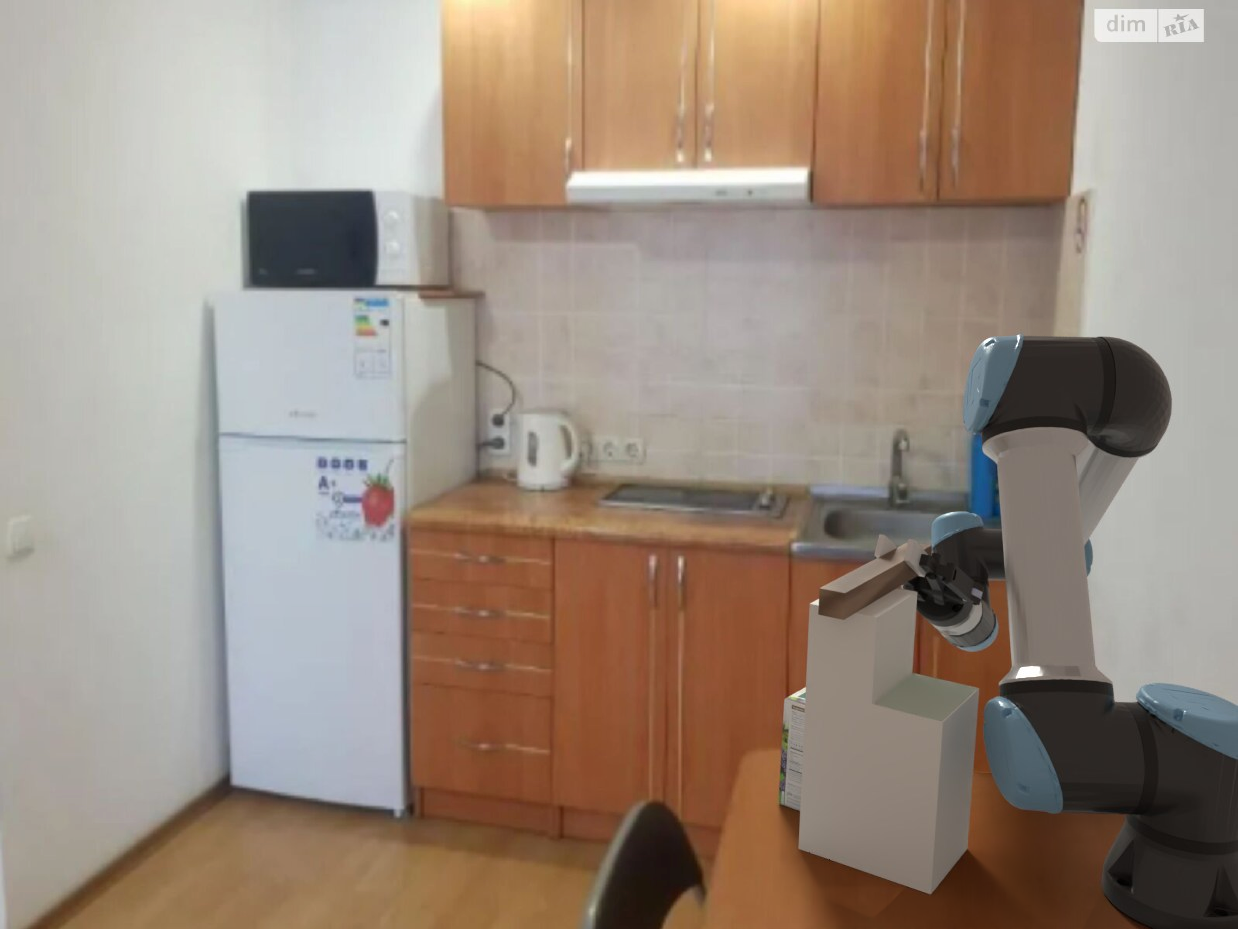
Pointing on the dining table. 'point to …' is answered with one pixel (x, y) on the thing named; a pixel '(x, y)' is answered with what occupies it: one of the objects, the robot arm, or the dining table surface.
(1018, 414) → the robot arm
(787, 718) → the syrup box
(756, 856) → the dining table surface
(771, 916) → the dining table surface
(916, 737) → the step stand
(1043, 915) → the dining table surface
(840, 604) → the walnut bar
